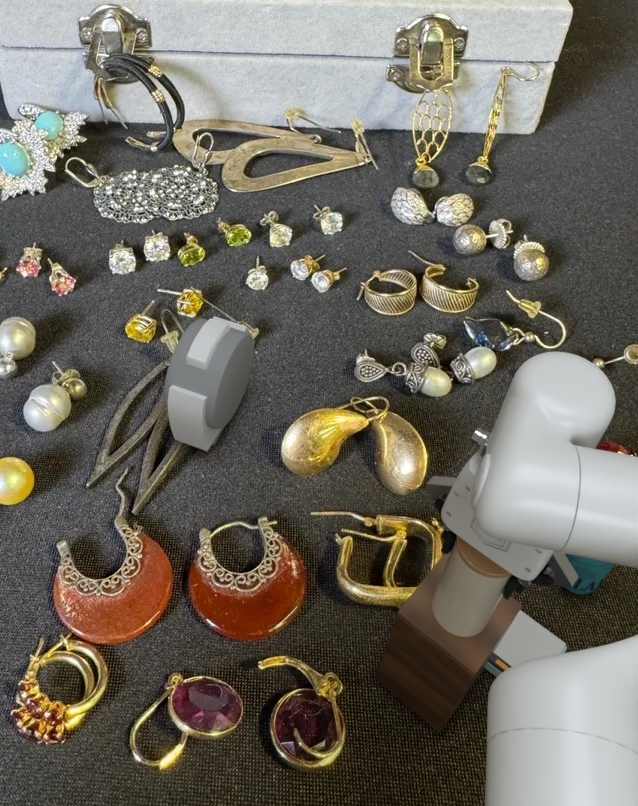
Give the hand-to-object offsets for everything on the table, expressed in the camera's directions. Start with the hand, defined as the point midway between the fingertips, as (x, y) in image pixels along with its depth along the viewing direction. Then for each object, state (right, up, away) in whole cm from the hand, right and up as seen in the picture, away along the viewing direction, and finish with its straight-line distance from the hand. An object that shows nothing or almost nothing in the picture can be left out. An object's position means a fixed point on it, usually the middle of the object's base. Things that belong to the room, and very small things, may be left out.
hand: (481, 564), depth 81 cm
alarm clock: (-30, +9, +52) cm, 61 cm away
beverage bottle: (+22, -12, +34) cm, 42 cm away
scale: (+12, -20, +27) cm, 35 cm away
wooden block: (0, -22, +25) cm, 33 cm away
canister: (0, -7, +8) cm, 11 cm away
